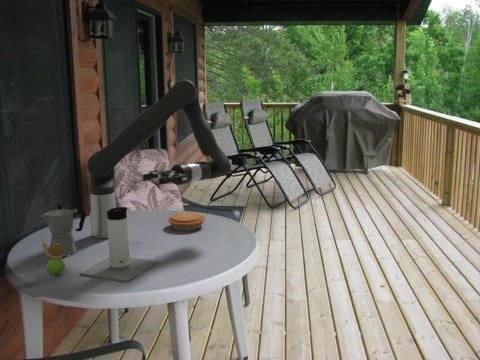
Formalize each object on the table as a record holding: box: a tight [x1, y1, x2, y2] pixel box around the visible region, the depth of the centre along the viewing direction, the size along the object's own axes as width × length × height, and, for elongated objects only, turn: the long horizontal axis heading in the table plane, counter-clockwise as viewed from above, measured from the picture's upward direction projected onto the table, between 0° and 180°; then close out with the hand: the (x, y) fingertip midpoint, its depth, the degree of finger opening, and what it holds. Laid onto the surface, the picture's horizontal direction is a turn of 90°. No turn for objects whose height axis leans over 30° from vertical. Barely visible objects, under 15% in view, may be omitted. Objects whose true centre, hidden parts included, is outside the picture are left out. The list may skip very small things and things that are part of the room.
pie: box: [167, 212, 206, 232], centre depth 223 cm, size 16×16×5 cm
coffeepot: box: [39, 203, 87, 257], centre depth 192 cm, size 15×9×18 cm, turn 115°
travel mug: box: [107, 206, 130, 270], centre depth 175 cm, size 6×7×20 cm
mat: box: [79, 256, 159, 283], centre depth 177 cm, size 18×18×1 cm
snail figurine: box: [41, 237, 66, 276], centre depth 172 cm, size 5×6×12 cm
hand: (151, 179), depth 186 cm, fingers open, 8 cm apart
